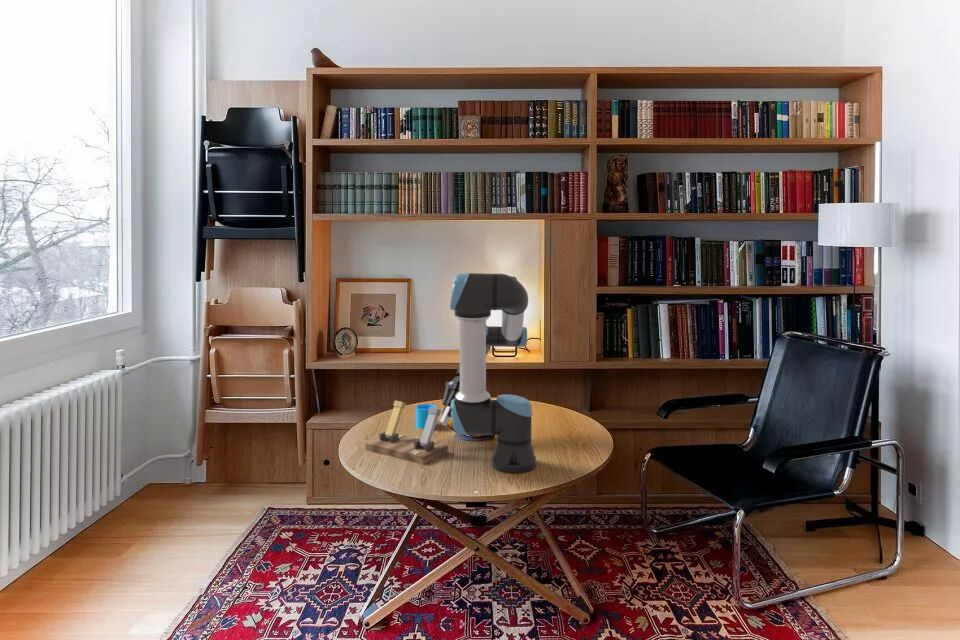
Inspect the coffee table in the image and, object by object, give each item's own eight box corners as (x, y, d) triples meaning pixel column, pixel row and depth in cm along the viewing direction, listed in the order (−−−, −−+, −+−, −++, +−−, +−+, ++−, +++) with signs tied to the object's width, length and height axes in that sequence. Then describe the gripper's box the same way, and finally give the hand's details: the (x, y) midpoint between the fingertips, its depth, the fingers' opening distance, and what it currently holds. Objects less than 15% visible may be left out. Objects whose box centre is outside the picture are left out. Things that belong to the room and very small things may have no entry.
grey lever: (429, 448, 227) (441, 410, 231) (425, 447, 225) (437, 408, 229) (421, 446, 229) (433, 408, 233) (417, 445, 227) (429, 407, 231)
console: (447, 452, 230) (447, 439, 230) (423, 464, 219) (423, 450, 218) (391, 439, 244) (391, 426, 244) (365, 449, 233) (365, 436, 232)
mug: (436, 429, 257) (436, 409, 256) (416, 430, 256) (415, 409, 255) (435, 420, 269) (435, 401, 267) (415, 421, 268) (415, 401, 267)
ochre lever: (394, 440, 235) (406, 403, 239) (390, 439, 233) (402, 401, 237) (386, 438, 237) (398, 402, 241) (382, 437, 235) (394, 400, 239)
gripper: (486, 377, 246) (461, 431, 235) (458, 373, 253) (432, 425, 242) (479, 366, 241) (453, 421, 229) (450, 362, 248) (424, 415, 236)
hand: (442, 423), depth 235 cm, fingers closed
